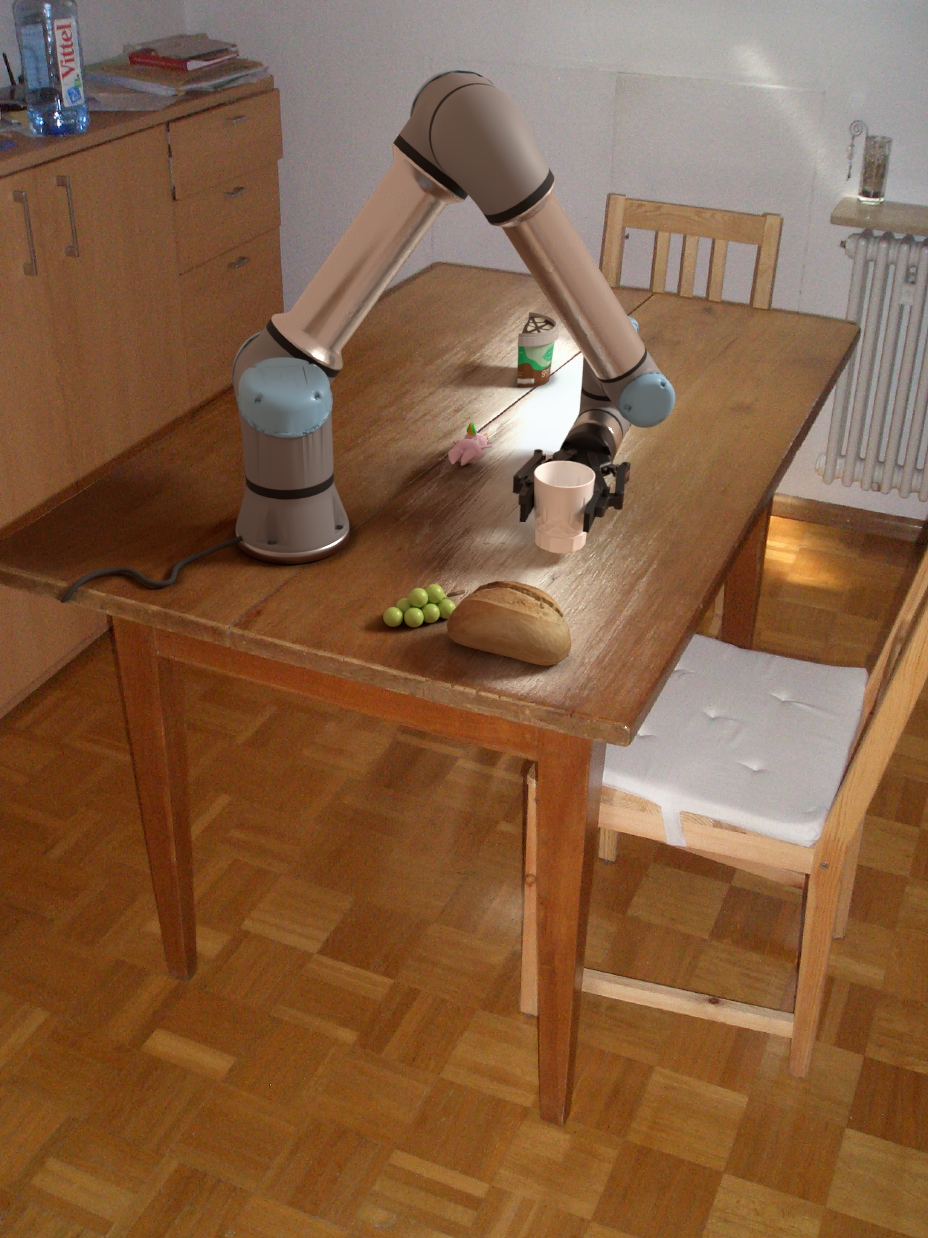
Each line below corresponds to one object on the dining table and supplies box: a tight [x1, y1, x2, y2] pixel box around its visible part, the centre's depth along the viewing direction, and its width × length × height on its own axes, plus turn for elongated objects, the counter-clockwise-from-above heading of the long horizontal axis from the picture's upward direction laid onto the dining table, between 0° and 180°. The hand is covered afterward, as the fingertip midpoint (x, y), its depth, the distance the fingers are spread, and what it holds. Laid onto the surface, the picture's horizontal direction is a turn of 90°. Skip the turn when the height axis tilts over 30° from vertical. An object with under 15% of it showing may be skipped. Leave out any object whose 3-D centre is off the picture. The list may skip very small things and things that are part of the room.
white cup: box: [533, 461, 595, 554], centre depth 166 cm, size 8×8×10 cm
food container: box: [516, 311, 560, 389], centre depth 220 cm, size 12×6×10 cm, turn 168°
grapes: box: [382, 583, 466, 628], centre depth 155 cm, size 11×5×4 cm, turn 118°
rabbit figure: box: [447, 421, 493, 466], centre depth 192 cm, size 6×6×15 cm
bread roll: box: [446, 580, 572, 667], centre depth 148 cm, size 10×15×8 cm, turn 73°
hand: (554, 517), depth 161 cm, fingers closed on white cup, 8 cm apart
